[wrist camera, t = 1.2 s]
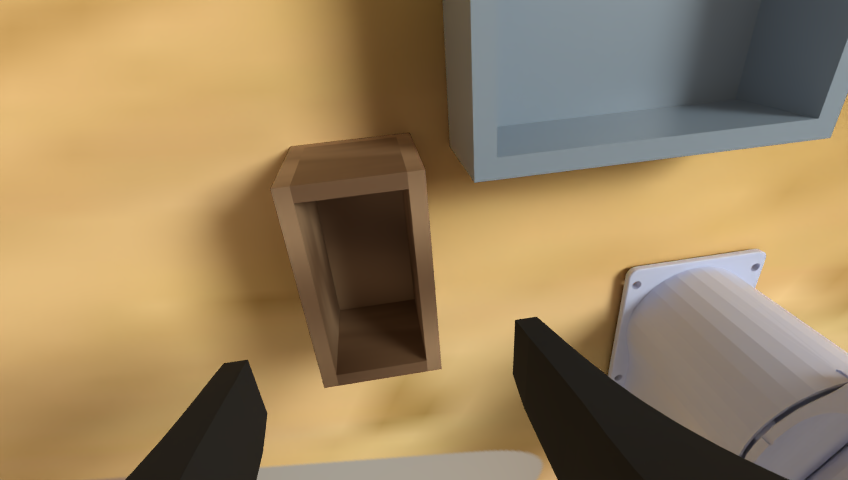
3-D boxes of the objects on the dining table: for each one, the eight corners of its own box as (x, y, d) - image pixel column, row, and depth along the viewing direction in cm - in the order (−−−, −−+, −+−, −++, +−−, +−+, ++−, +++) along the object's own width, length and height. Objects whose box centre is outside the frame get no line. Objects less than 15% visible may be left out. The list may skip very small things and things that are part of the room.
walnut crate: (425, 300, 23) (441, 368, 18) (330, 314, 22) (324, 387, 18) (409, 131, 18) (425, 169, 14) (291, 145, 18) (270, 188, 14)
